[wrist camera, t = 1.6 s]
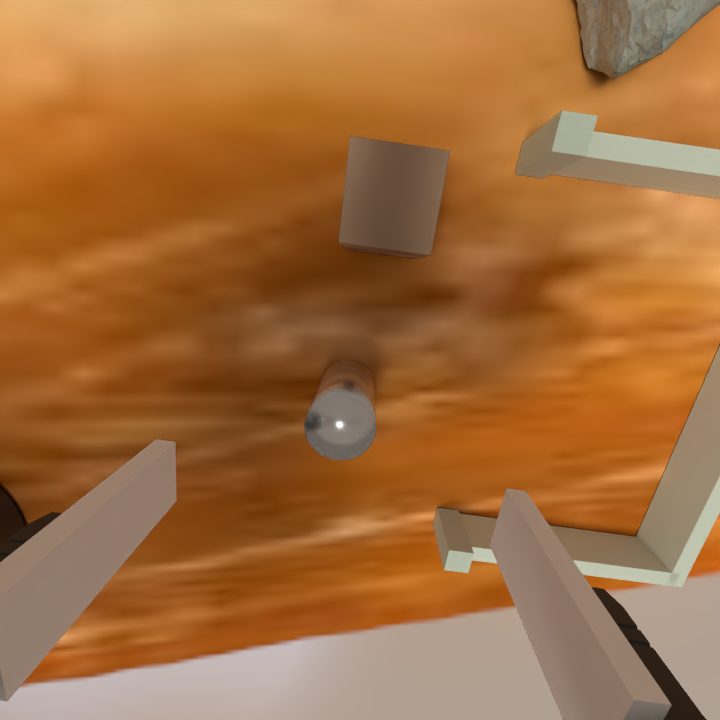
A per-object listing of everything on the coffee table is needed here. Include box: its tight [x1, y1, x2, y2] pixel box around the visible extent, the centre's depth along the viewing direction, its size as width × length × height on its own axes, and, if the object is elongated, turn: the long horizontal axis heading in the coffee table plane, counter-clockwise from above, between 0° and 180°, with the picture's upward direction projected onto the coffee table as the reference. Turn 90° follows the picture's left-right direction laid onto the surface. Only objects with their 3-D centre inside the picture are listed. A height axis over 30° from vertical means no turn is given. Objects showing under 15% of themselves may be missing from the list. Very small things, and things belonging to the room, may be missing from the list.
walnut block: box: [339, 136, 450, 259], centre depth 19 cm, size 4×4×7 cm
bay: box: [433, 111, 720, 587], centre depth 23 cm, size 18×29×4 cm, turn 172°
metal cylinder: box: [304, 360, 376, 460], centre depth 22 cm, size 4×4×7 cm
